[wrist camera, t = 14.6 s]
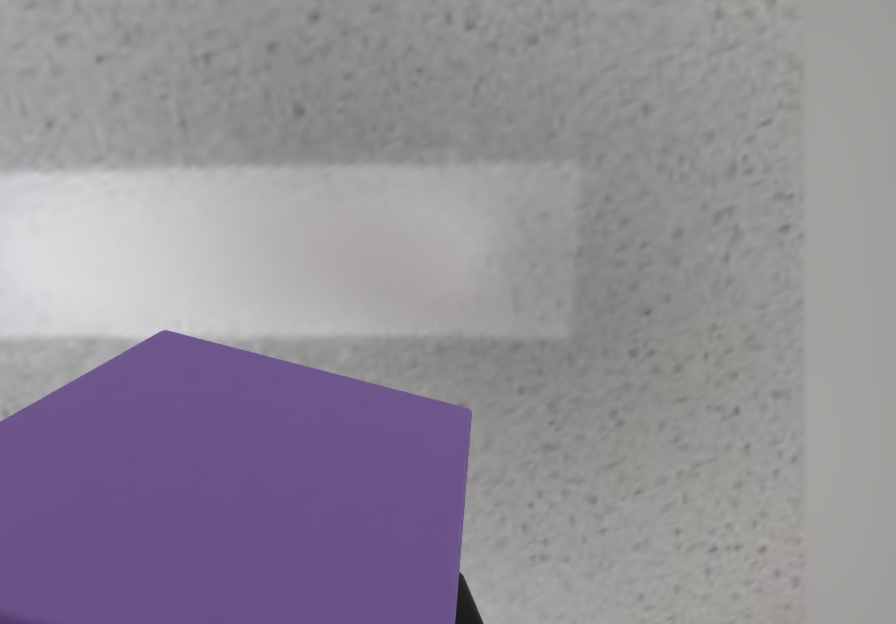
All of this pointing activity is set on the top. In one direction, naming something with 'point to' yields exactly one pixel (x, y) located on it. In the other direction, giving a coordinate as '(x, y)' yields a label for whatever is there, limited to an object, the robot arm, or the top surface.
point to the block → (230, 495)
